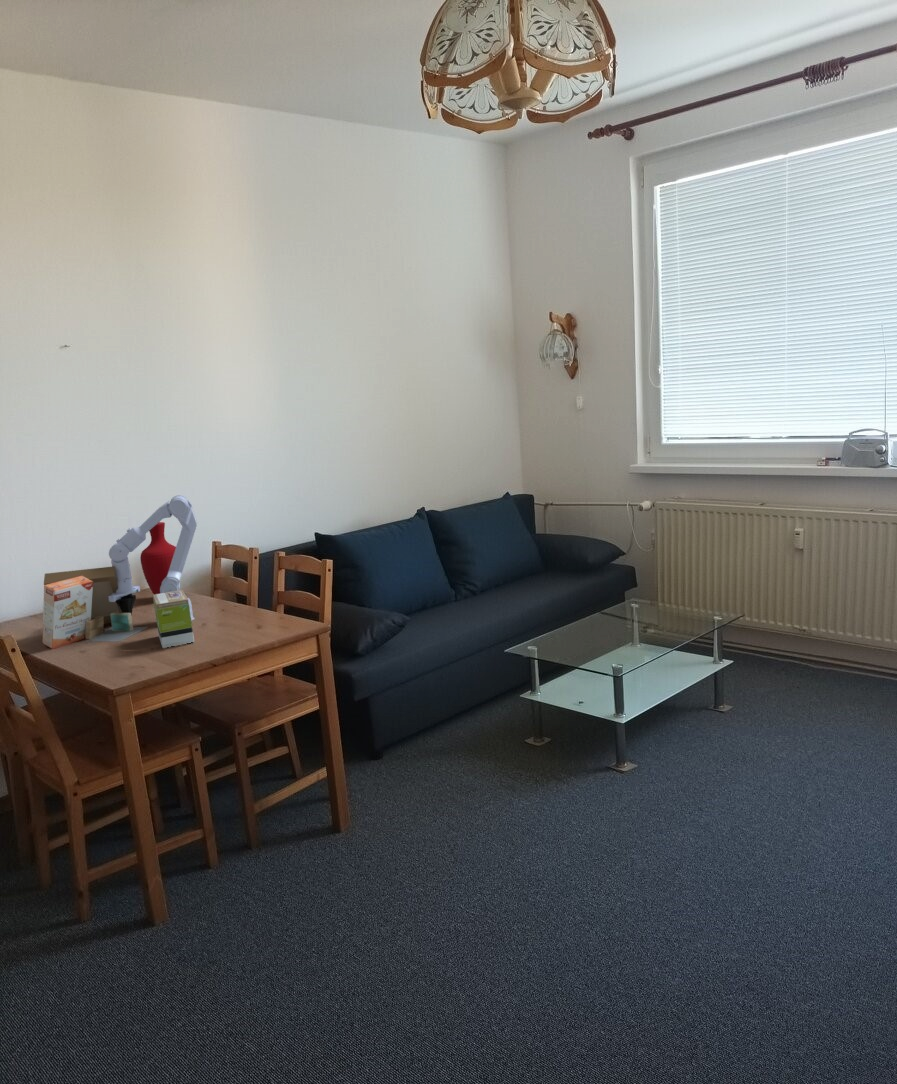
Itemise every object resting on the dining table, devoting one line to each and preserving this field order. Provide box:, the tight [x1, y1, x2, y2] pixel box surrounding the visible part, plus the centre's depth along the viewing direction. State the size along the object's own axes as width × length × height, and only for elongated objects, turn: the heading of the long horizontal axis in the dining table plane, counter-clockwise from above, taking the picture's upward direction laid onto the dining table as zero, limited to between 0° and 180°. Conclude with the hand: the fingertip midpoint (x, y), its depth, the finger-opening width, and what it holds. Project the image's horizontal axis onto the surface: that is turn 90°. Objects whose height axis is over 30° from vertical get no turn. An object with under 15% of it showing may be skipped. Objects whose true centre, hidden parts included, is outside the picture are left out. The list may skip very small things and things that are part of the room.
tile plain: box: [85, 616, 104, 640], centre depth 282 cm, size 7×2×6 cm, turn 165°
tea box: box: [152, 589, 195, 649], centre depth 271 cm, size 15×10×15 cm
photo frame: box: [43, 566, 122, 624], centre depth 290 cm, size 15×22×25 cm
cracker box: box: [41, 576, 93, 650], centre depth 275 cm, size 14×6×21 cm, turn 148°
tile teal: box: [110, 613, 134, 631], centre depth 287 cm, size 7×2×6 cm, turn 75°
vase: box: [140, 521, 176, 595], centre depth 329 cm, size 15×15×30 cm
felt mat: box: [82, 626, 149, 643], centre depth 284 cm, size 14×16×1 cm
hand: (128, 617), depth 291 cm, fingers closed
